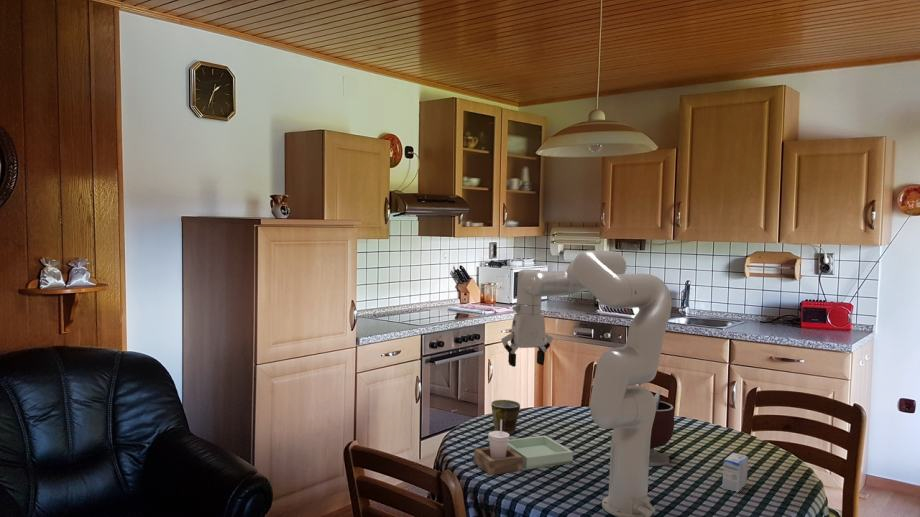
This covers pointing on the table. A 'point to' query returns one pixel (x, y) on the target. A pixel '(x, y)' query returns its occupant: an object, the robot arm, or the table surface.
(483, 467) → the socket block
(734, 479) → the medicine box
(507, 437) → the smoothie
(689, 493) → the table surface
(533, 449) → the tray
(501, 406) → the ceramic cup
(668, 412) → the mate gourd
